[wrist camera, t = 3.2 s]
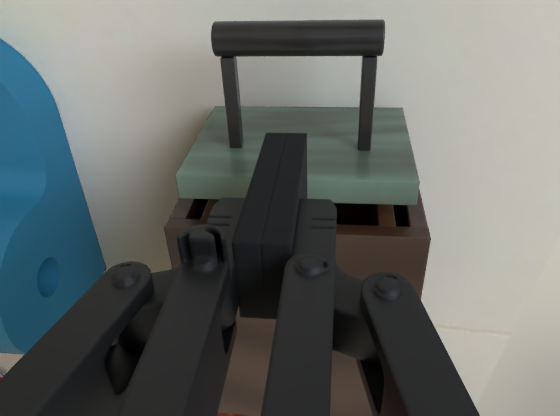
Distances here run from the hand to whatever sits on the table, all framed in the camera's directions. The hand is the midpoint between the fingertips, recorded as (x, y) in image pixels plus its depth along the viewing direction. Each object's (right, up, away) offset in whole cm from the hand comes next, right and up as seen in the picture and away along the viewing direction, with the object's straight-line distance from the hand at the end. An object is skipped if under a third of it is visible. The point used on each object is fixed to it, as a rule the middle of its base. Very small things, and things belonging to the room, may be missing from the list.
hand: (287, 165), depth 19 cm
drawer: (+1, +1, +11) cm, 11 cm away
